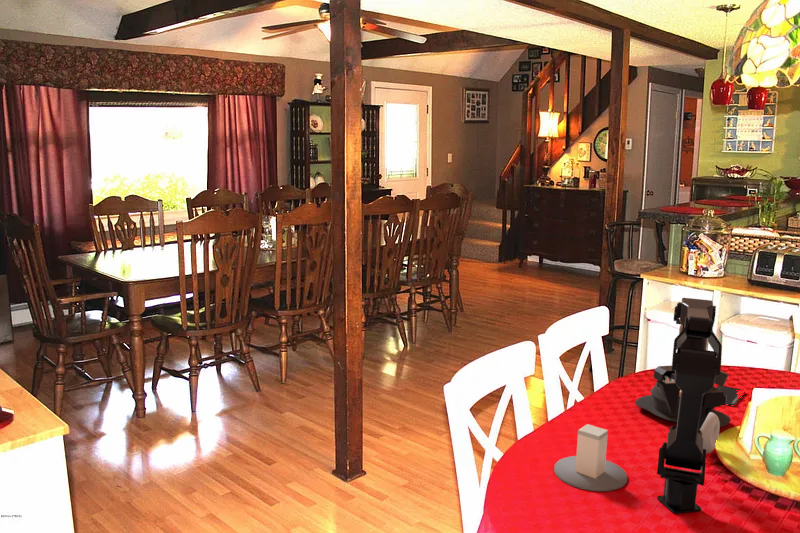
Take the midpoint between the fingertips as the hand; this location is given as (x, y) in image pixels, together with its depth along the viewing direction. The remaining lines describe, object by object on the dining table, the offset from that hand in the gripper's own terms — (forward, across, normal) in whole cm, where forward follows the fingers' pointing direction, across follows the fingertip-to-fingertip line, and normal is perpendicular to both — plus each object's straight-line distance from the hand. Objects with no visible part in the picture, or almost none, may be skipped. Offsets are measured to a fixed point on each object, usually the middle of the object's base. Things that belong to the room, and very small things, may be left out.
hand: (684, 421), depth 160 cm
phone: (+14, +43, -44) cm, 63 cm away
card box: (+12, +4, +20) cm, 24 cm away
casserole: (+13, +31, -21) cm, 40 cm away
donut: (+13, +10, -14) cm, 22 cm away
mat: (+13, +4, +20) cm, 24 cm away
